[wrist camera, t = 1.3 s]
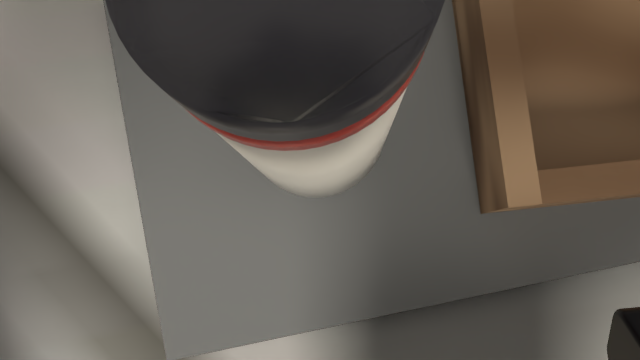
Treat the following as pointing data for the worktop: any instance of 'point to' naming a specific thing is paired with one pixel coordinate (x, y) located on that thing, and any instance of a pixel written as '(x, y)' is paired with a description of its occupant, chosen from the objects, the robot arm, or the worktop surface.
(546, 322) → the worktop surface
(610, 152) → the wooden tray
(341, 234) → the rubber mat
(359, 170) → the white lens
